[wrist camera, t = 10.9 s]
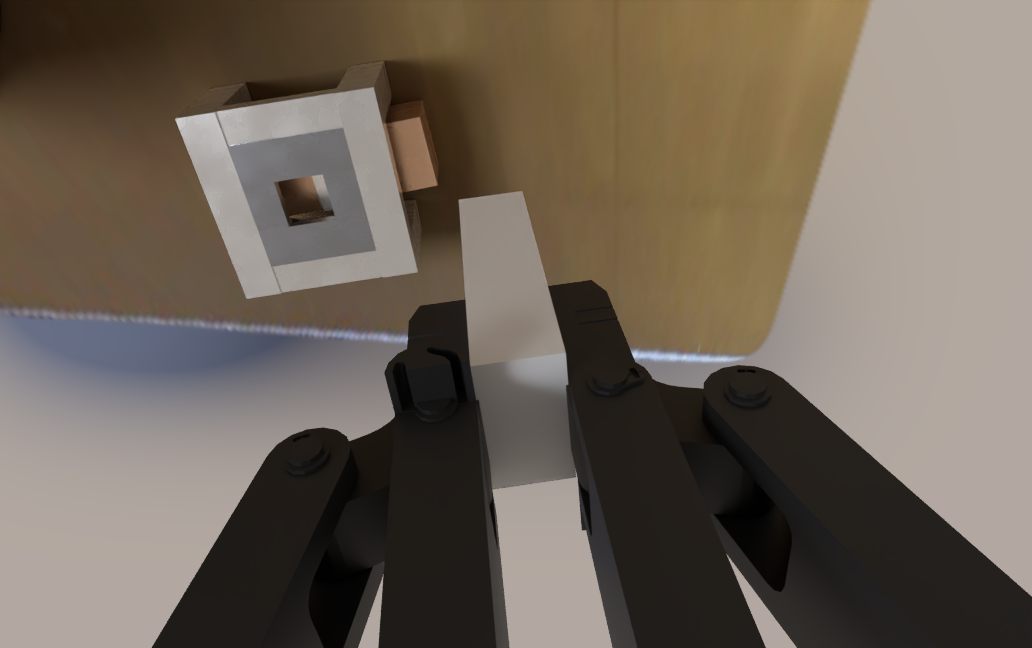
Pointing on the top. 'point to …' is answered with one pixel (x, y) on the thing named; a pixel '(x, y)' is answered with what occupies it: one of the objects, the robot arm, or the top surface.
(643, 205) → the top surface
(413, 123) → the banded cardboard box
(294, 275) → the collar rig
